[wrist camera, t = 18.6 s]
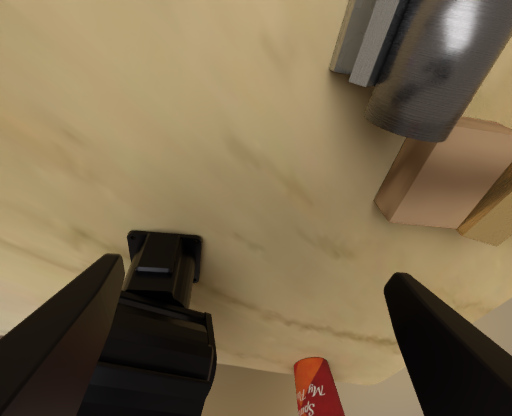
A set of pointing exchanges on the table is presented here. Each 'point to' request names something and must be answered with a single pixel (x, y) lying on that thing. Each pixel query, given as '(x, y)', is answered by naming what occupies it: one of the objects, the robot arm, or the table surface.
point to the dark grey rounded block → (438, 65)
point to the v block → (367, 38)
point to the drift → (491, 213)
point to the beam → (445, 174)
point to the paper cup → (316, 389)
